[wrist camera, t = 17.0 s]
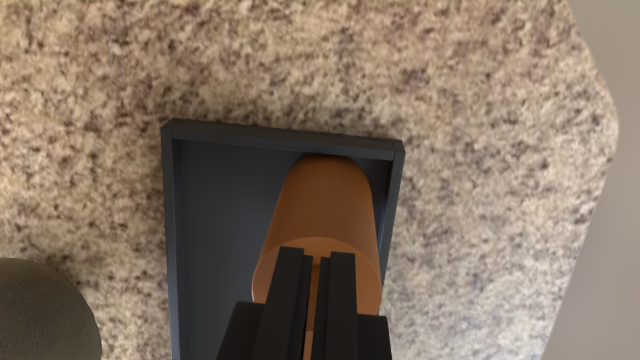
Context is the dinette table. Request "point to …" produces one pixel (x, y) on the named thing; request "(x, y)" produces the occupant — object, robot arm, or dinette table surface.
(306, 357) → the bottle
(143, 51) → the dinette table surface
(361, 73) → the dinette table surface
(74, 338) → the dark grey rock
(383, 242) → the tray
